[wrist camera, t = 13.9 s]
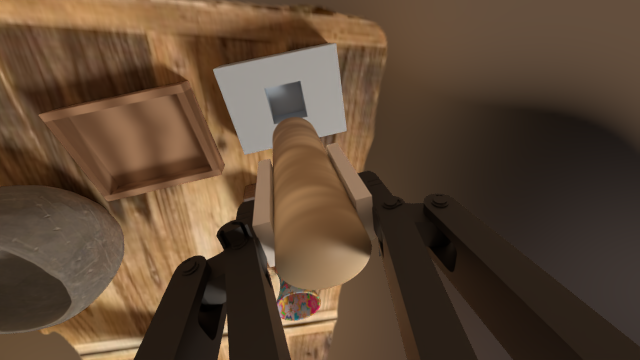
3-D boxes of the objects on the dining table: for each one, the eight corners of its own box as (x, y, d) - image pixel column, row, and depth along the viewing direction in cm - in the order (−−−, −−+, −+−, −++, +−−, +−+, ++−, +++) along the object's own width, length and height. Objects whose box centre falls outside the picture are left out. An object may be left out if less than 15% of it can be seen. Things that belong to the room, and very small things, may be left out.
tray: (119, 189, 41) (107, 201, 38) (58, 108, 34) (38, 114, 31) (224, 165, 42) (221, 174, 39) (188, 80, 35) (180, 84, 32)
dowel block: (247, 142, 41) (244, 154, 37) (219, 65, 35) (212, 69, 30) (338, 121, 42) (346, 130, 37) (328, 42, 36) (336, 43, 31)
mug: (277, 249, 54) (278, 291, 45) (317, 251, 56) (325, 291, 47) (269, 285, 59) (269, 329, 50) (306, 285, 62) (312, 327, 53)
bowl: (7, 256, 43) (-102, 345, 31) (-33, 150, 34) (-212, 215, 22) (143, 264, 50) (98, 342, 37) (139, 176, 40) (78, 239, 28)
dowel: (278, 163, 23) (287, 299, 11) (267, 122, 21) (262, 233, 9) (320, 154, 23) (373, 276, 11) (312, 112, 21) (368, 207, 9)
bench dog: (258, 218, 49) (257, 233, 45) (245, 185, 45) (243, 199, 41) (278, 213, 49) (278, 228, 45) (266, 180, 45) (266, 194, 41)
